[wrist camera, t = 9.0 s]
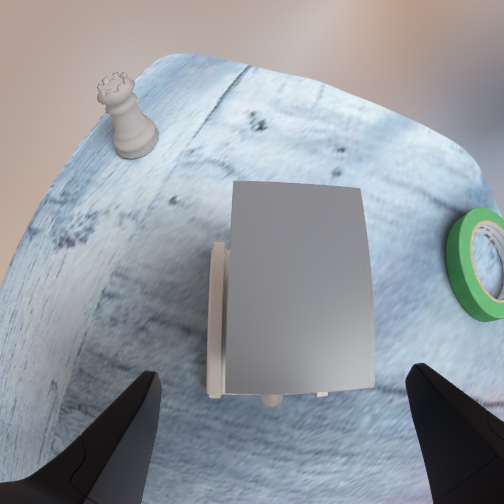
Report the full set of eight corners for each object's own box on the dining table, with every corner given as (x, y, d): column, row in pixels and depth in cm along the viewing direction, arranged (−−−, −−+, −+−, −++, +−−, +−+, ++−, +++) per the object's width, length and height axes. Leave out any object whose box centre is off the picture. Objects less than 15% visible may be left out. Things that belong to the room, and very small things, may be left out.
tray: (322, 392, 18) (341, 402, 14) (208, 394, 18) (199, 405, 14) (319, 253, 22) (335, 232, 18) (212, 251, 22) (206, 229, 18)
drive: (296, 364, 18) (374, 386, 7) (235, 364, 18) (224, 393, 7) (296, 277, 20) (360, 188, 9) (238, 276, 20) (232, 180, 9)
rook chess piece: (154, 161, 24) (128, 97, 16) (111, 162, 24) (77, 104, 16) (164, 125, 26) (146, 62, 18) (124, 127, 25) (99, 69, 18)
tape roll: (437, 307, 21) (456, 301, 18) (444, 202, 24) (458, 189, 22) (506, 331, 20) (523, 328, 17) (508, 238, 23) (522, 230, 21)
